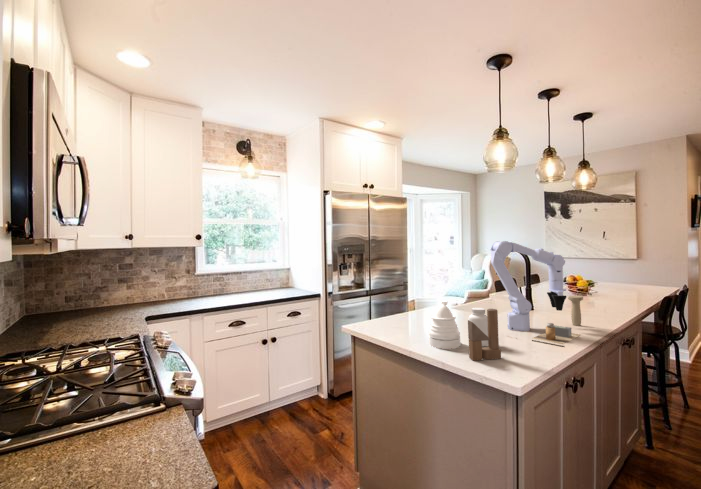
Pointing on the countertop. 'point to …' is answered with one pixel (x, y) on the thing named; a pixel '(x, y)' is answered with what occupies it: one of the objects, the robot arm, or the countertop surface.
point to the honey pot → (444, 329)
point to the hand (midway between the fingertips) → (556, 308)
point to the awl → (550, 332)
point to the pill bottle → (480, 321)
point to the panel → (558, 340)
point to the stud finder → (563, 331)
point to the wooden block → (478, 336)
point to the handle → (576, 310)
